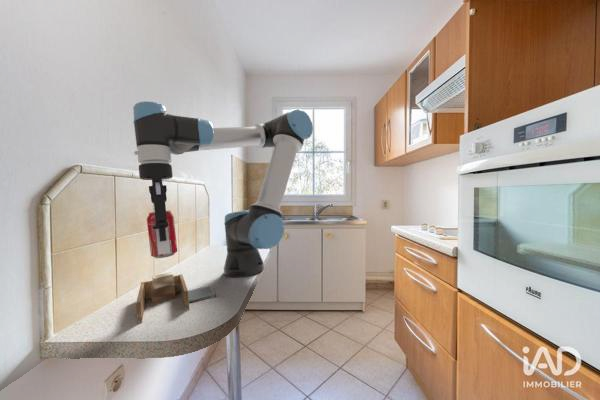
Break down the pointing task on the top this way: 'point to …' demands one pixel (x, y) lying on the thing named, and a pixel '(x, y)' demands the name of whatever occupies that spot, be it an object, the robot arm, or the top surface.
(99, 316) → the top surface
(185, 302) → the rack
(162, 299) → the walnut offcut
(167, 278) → the birch offcut
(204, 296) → the mat
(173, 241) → the beverage can
